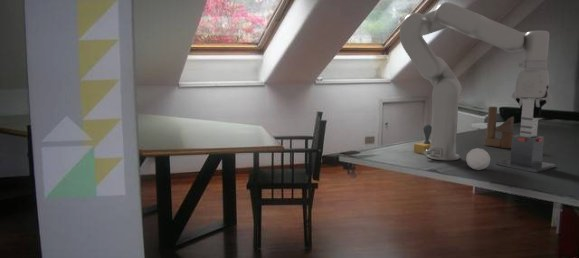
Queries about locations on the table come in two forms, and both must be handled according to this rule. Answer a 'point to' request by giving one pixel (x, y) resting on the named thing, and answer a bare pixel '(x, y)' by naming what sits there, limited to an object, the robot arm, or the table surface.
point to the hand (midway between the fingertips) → (529, 116)
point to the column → (528, 119)
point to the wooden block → (498, 130)
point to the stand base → (527, 154)
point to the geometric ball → (478, 159)
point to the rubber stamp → (424, 145)
